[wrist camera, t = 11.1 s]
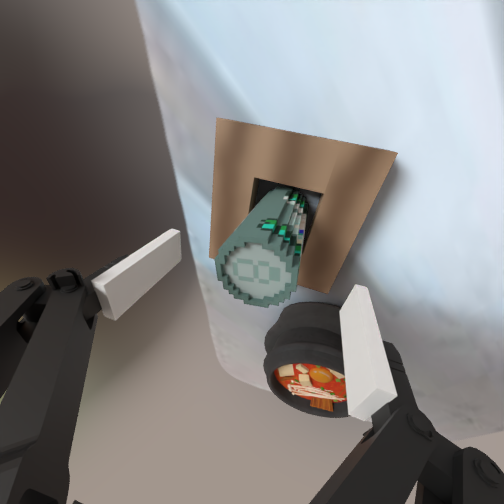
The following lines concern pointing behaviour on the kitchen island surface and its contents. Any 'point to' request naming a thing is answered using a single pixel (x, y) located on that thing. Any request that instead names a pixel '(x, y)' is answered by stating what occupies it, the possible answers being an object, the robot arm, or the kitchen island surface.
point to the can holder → (302, 176)
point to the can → (265, 250)
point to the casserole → (308, 359)
